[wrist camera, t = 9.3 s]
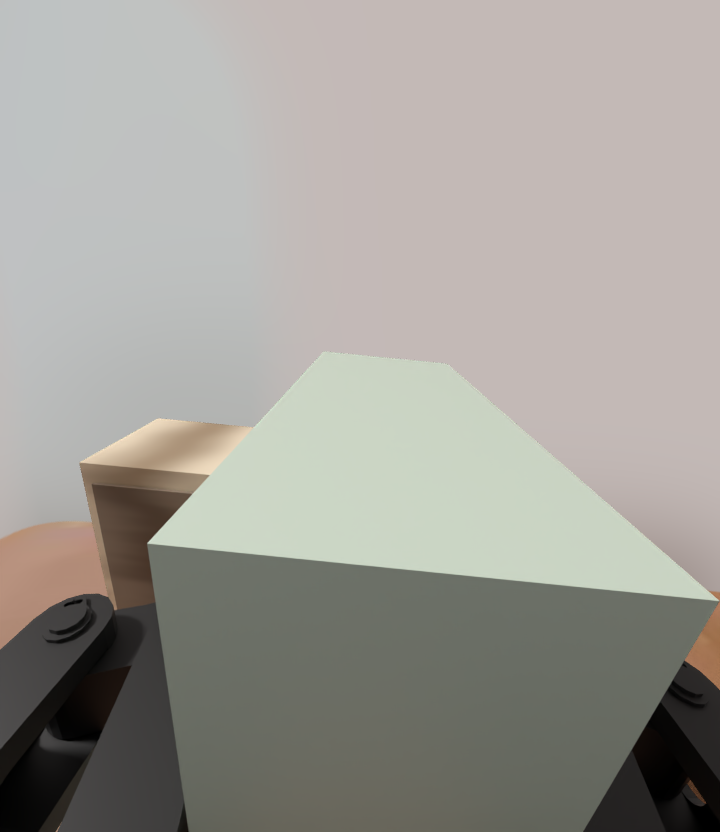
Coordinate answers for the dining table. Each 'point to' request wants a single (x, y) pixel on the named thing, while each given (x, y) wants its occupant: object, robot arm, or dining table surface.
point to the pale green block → (407, 618)
